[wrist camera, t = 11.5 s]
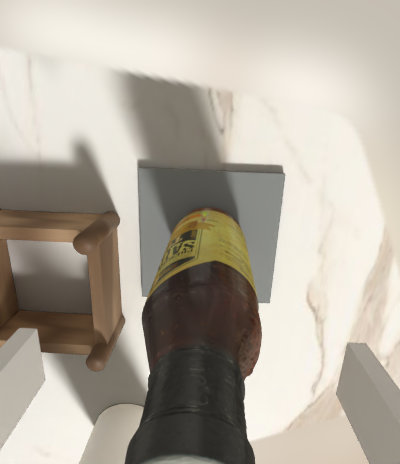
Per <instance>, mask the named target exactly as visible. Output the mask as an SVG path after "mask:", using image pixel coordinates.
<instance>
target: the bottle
mask: <svg viewBox="0 0 400 464" xmlns="http://www.w3.org/2000/svg"><path fill="white" fill-rule="evenodd" d="M143 409H144V407H142V406H139V405H135V404H119V405H114V406H112V407H109V408H107V409H106V410H104V411H103V412H102V413H101V414H100V415H99V417H98V419H97V421H96V423H95V425H94V428H93V430H92V433H91V435H90V438H89V440H88V443H87V445H86V448H85V450H84V453H83V455H82V457H81V460H80V462H79V464H125V458H126V453H127V448H128V445H129V442H130V440H131V439H132V437H133V435H134V434H135V432H136V431H137V429H138V428H139V424H140V421H141V417H142V414H143Z"/></svg>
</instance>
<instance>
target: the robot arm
mask: <svg viewBox="0 0 400 464" xmlns="http://www.w3.org/2000/svg"><path fill="white" fill-rule="evenodd" d="M44 381H45V375H44V369H43V362H42V356H41V350H40V344H39V338H38V331H37V329H33V328H19V329H18V330H17V331H16V332H15V333H14V334H13V335H12V336H11V337H10V338H9V339H8V340H7V341H6V342H5V344H4V345H3V346H2V347H1V348H0V450H1V448H2V447H3V445H4V443H5V442H6V440H7V439H8V437H9V436H10V434H11V433H12V431H13V429H14V428H15V426H16V425H17V423H18V422H19V420H20V419H21V417H22V416H23V414H24V412H25V411H26V409H27V408H28V406H29V405H30V403H31V402H32V400H33V398H34V397H35V395H36V394H37V392H38V391H39V389H40V388H41V386H42V384H43V383H44ZM336 394H337V397H338V399H339V401H340V403H341V405H342V407H343V409H344V411H345V413H346V415H347V418H348V420H349V422H350V424H351V426H352V428H353V430H354V432H355V434H356V436H357V439H358V441H359V442H360V445H361V447H362V449H363V451H364V453H365V455H366V457H367V460H368V462H369V464H400V390H399V388H398V387H397V385H396V384H395V383H394V381H393V380H392V379H391V377H390V376H389V374H388V373H387V372H386V370H385V369H384V367H383V366H382V365H381V363H380V362H379V361H378V359H377V358H376V356H375V355H374V354H373V352H372V351H371V350H370V348H369V347H368V345H367V344H366V343H347V347H346V352H345V356H344V361H343V365H342V370H341V374H340V379H339V383H338V388H337V392H336Z"/></svg>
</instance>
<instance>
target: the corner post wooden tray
mask: <svg viewBox="0 0 400 464" xmlns="http://www.w3.org/2000/svg"><path fill="white" fill-rule="evenodd" d="M119 223H120V219H119V216H118V215H117V214H116V213H114V212H111V211H109V212H106V213H104V214H84V213H62V212H39V211H17V210H2V209H0V348H1V347H2V346H3V345H4V344H5V342H6V341H7V340H8V339H9V338H10V337H11V336H12V335H13V334H14V333H15V332H16V331H17V330H18V329H19V328H33V329H37V331H38V338H39V344H40V350H41V352H48V353H64V354H81V355H89V356H88V358H87V360H86V365H87V367H88V368H89V369H90V370H92V371H101V370H103V369H104V367H105V365H106V363H107V361H108V359H109V356H110V354H111V352H112V350H113V348H114V346H115V343H116V341H117V339H118V337H119V335H120V333H121V330H122V328H123V326H124V324H125V318H124V317H123V316H122V308H121V290H120V273H119V255H118V238H117V226H118V225H119ZM6 239H12V240H33V241H54V242H73V246H74V248H75V250H76V251H77V252H78V253H80V254H83V255H87V259H88V269H89V280H90V291H91V302H92V312H93V315H90V314H72V313H54V312H36V311H20V310H19V308H18V302H17V297H16V291H15V286H14V280H13V275H12V270H11V264H10V259H9V253H8V248H7V242H6Z"/></svg>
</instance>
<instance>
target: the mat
mask: <svg viewBox="0 0 400 464" xmlns="http://www.w3.org/2000/svg"><path fill="white" fill-rule="evenodd" d="M138 178H139V209H140V241H141V273H142V296H143V297H148V294H149V292H150V289H151V287H152V284H153V282H154V279H155V276H156V273H157V271H158V268H159V265H160V263H161V261H162V258H163V255H164V253H165V251H166V248H167V245H168V243H169V240H170V237H171V235H172V232H173V230H174V228H175V227H176V225H177V224H178V223H179V222H180V220H182V219H183V218H184V217H185V216H186V215H187V214H189V213H190V212H192V211H193V210H195V209H199V208H205V207H214V208H218V209H221V210H223V211H225V212H227V213H228V214H230V215H231V216H232V217H233V218H234V219H235V220H236V221H237V222H238V224H239V226H240V227H241V230H242V232H243V234H244V236H245V240H246V245H247V250H248V255H249V260H250V265H251V270H252V274H253V279H254V283H255V288H256V293H257V299H258V303H270V296H271V288H272V280H273V271H274V263H275V255H276V247H277V239H278V230H279V222H280V214H281V206H282V197H283V189H284V181H285V174H284V173H268V172H243V171H218V170H192V169H167V168H142V167H140V168H138Z"/></svg>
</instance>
